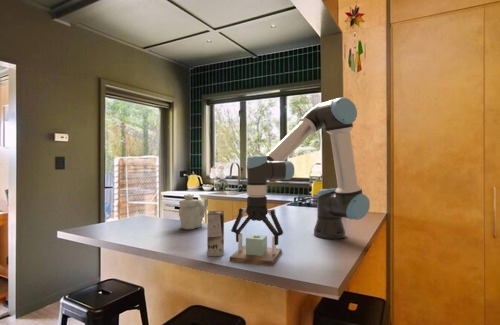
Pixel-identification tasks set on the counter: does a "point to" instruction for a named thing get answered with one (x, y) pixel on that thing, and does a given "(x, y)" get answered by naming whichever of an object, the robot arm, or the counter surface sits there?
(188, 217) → the teapot
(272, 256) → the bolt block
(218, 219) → the coffee box
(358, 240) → the counter surface
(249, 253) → the pale green cube
